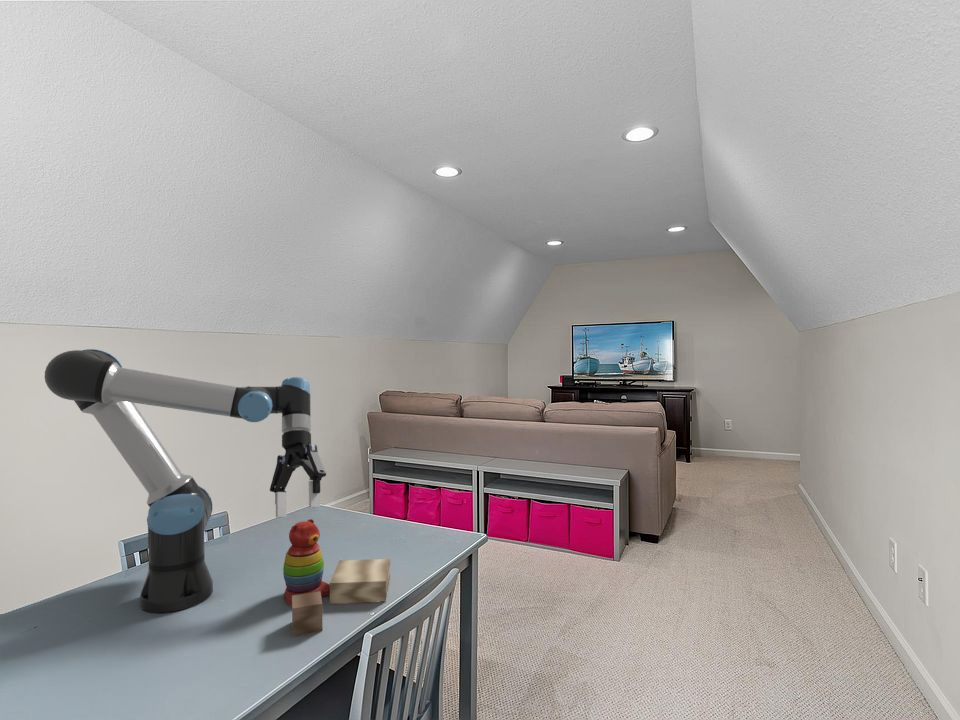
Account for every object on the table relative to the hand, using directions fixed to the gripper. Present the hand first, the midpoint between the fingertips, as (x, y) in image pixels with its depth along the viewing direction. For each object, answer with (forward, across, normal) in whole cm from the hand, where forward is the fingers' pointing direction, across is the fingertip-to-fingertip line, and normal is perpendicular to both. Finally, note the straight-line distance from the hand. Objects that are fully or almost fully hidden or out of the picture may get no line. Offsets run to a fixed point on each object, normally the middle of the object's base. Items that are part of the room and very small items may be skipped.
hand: (297, 512), depth 136 cm
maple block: (+21, -11, -10) cm, 26 cm away
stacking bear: (+20, -2, -1) cm, 20 cm away
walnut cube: (+26, -13, +8) cm, 30 cm away
